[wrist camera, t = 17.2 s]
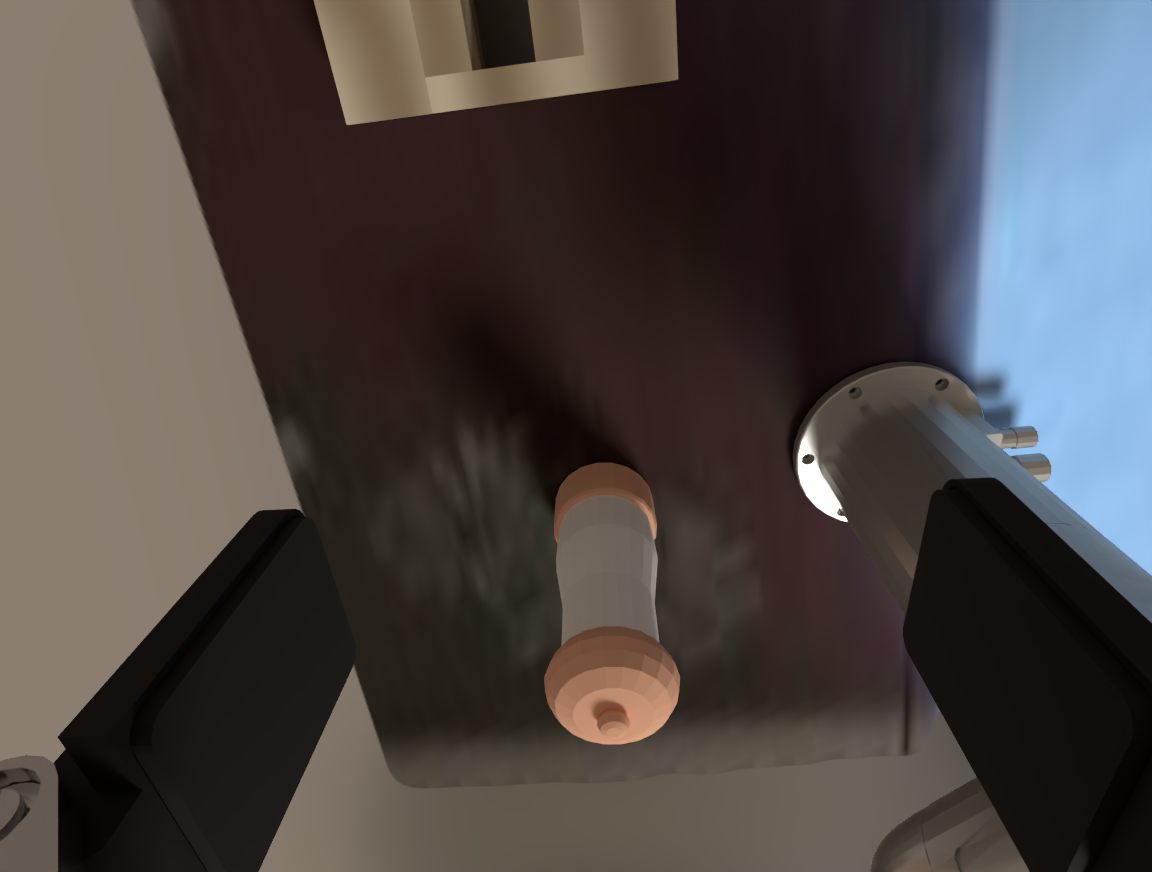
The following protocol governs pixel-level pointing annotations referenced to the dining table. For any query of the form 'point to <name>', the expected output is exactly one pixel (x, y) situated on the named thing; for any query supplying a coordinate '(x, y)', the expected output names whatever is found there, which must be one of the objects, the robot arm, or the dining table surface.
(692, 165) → the dining table surface
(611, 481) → the salt shaker
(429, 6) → the socket block
